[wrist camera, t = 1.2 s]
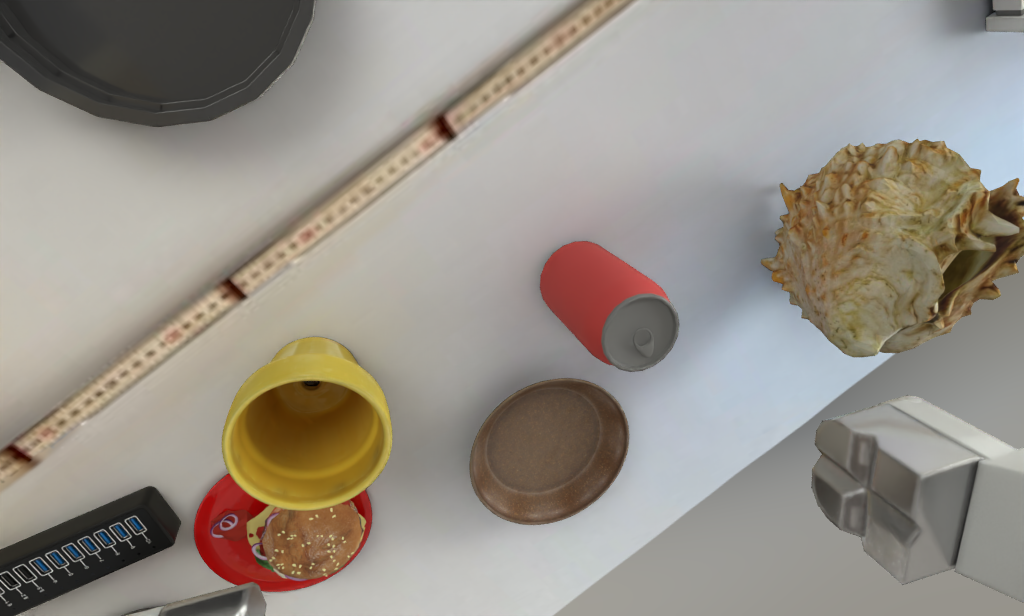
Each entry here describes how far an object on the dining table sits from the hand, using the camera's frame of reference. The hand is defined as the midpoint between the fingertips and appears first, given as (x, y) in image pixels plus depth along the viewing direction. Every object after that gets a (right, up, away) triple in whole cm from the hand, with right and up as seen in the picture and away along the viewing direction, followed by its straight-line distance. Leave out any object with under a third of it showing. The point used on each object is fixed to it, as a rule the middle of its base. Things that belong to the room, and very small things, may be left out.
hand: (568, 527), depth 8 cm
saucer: (+2, -9, +47) cm, 48 cm away
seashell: (+26, +11, +47) cm, 55 cm away
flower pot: (-16, -2, +39) cm, 42 cm away
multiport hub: (-35, -15, +39) cm, 54 cm away
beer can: (+4, +6, +42) cm, 43 cm away
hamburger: (-20, -15, +43) cm, 50 cm away
